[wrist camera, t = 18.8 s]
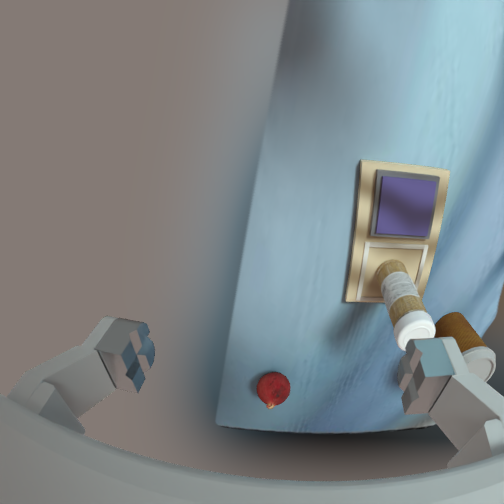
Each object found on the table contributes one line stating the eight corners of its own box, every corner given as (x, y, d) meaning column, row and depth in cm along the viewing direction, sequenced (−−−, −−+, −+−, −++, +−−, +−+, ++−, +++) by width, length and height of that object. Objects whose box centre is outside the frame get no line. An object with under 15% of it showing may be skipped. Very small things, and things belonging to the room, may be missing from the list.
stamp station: (360, 159, 35) (364, 163, 33) (446, 169, 33) (454, 173, 31) (345, 296, 44) (346, 306, 42) (418, 298, 43) (423, 307, 41)
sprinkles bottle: (400, 287, 41) (426, 354, 29) (371, 284, 41) (391, 352, 30) (409, 259, 39) (443, 322, 27) (380, 255, 39) (406, 320, 27)
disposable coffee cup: (419, 320, 45) (439, 375, 34) (468, 295, 41) (497, 344, 31) (430, 353, 48) (447, 405, 37) (474, 331, 44) (498, 379, 34)
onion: (274, 358, 52) (269, 394, 45) (298, 372, 53) (295, 408, 46) (253, 372, 55) (246, 407, 48) (277, 386, 56) (272, 420, 49)
